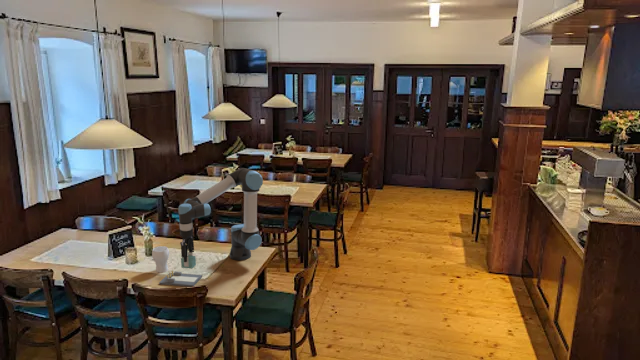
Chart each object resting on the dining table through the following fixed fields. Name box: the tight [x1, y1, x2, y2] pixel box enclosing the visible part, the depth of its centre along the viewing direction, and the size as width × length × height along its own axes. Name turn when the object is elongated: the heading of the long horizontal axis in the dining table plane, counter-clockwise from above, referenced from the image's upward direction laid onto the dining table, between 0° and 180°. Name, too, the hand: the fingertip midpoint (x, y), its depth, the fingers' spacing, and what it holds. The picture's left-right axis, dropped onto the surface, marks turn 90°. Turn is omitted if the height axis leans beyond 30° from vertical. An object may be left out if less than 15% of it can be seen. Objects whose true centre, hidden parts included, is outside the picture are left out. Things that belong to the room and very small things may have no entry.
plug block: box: [180, 255, 197, 269], centre depth 277 cm, size 7×6×6 cm
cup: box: [151, 245, 170, 274], centre depth 294 cm, size 11×11×15 cm
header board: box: [158, 269, 203, 288], centre depth 281 cm, size 22×14×5 cm, turn 82°
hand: (188, 264), depth 278 cm, fingers closed on plug block, 5 cm apart
